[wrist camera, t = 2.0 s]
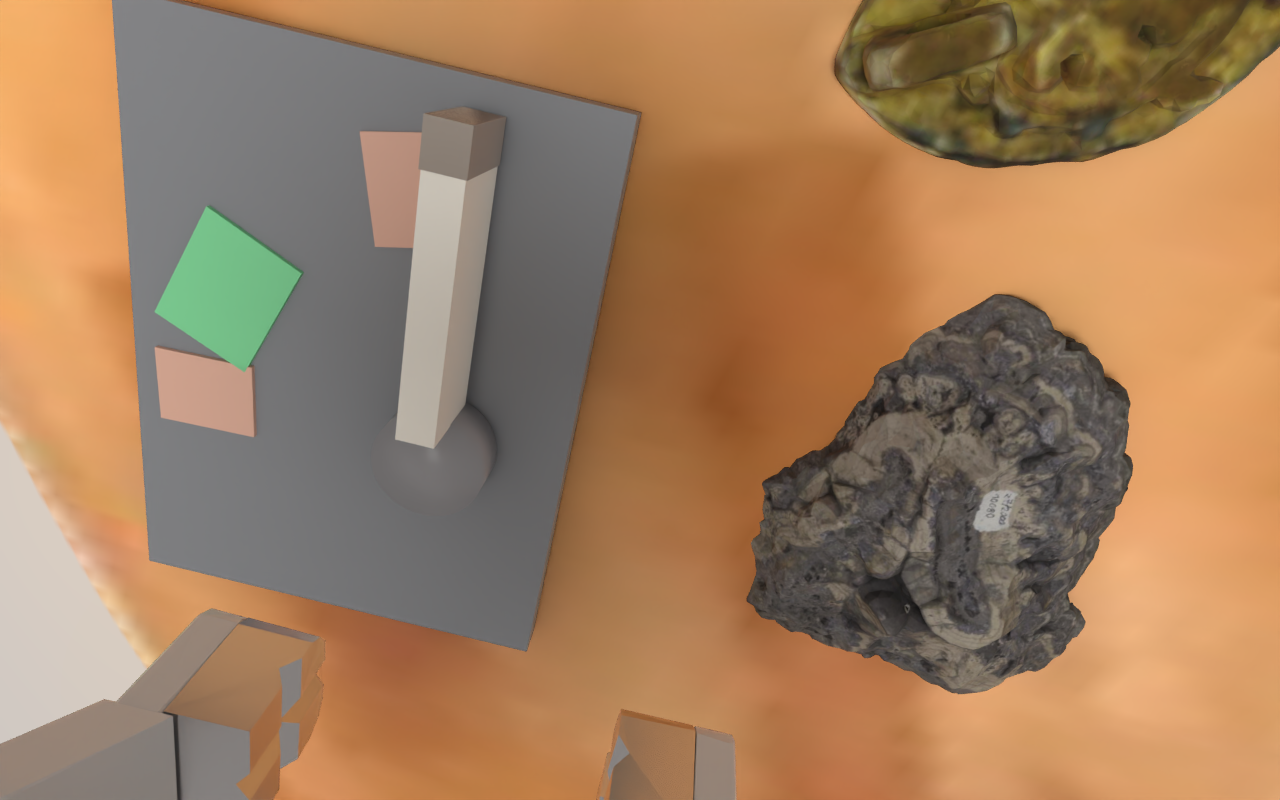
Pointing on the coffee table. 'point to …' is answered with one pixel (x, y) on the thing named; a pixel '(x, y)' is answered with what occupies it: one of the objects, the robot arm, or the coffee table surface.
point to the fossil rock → (953, 504)
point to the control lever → (444, 322)
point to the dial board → (346, 310)
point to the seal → (1047, 71)
